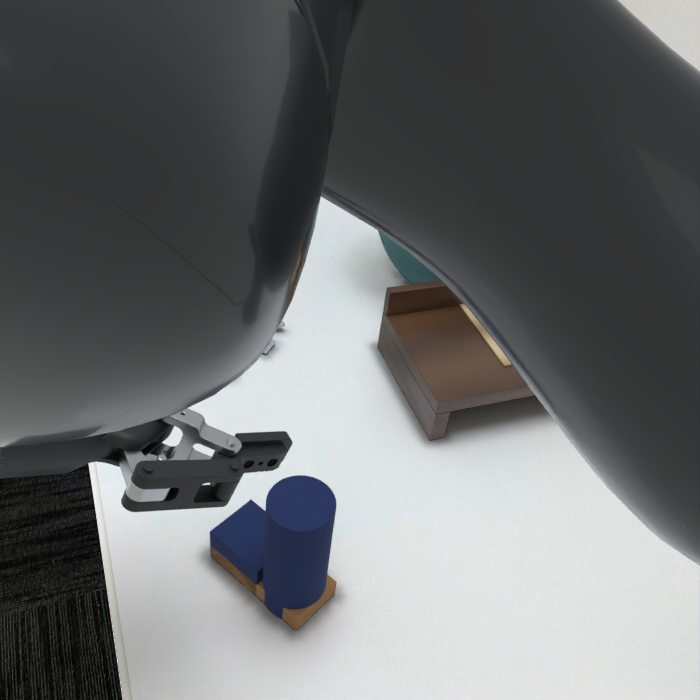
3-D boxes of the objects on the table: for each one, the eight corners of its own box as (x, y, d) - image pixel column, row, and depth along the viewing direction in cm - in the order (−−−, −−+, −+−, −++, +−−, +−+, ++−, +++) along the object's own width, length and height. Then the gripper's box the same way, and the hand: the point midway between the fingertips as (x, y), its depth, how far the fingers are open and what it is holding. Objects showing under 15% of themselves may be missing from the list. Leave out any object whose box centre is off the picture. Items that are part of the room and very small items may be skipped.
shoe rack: (621, 401, 80) (648, 342, 75) (429, 440, 73) (444, 378, 68) (551, 319, 90) (571, 262, 85) (376, 347, 83) (386, 287, 78)
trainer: (337, 591, 60) (350, 502, 53) (294, 633, 57) (303, 544, 50) (252, 522, 64) (254, 430, 57) (208, 557, 61) (205, 465, 54)
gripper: (29, 452, 32) (335, 436, 42) (-36, 256, 40) (232, 283, 51) (-10, 569, 35) (281, 527, 46) (-62, 365, 44) (194, 369, 54)
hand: (255, 399), depth 48 cm, fingers open, 8 cm apart
